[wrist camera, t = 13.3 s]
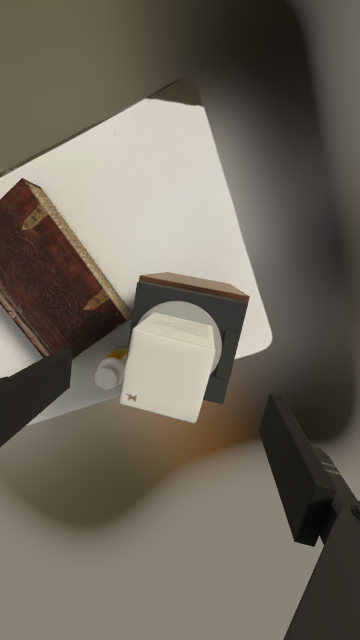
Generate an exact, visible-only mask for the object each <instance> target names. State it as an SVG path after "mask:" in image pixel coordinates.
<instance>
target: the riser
mask: <svg viewBox="0 0 360 640" xmlns="http://www.w3.org/2000/svg"><path fill="white" fill-rule="evenodd" d="M141 281H147V282H152V283H158V284H163V285H168V286H173V287H178V288H183V289H189V290H194V291H199V292H204V293H209V294H215V295H220V296H225V297H230V298H235V299H241V300H244V301H245V302H247V303H248V301H249V297H250V296H248V295H246V294H245V293H243V292H242V291H240V290H238V289H237V288H235V287H234V286H232V285H231V284H227V283H221V282H216V281H211V280H206V279H200V278H195V277H190V276H184V275H179V274H174V273H169V272H166V273H158V274H149V275H140V278H139V282H141Z"/></svg>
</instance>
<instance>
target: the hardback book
mask: <svg viewBox="0 0 360 640" xmlns="http://www.w3.org/2000/svg"><path fill="white" fill-rule="evenodd" d="M0 304H1V305H2V307H3V308H4V309H5V310H6V312H7V313H8V314H9V315H10V317H11V318H12V319H13V320H14V322H15V323H16V324H17V325H18V327H19V328H20V329H21V330H22V332H23V333H24V334H25V335H26V337H27V338H28V339H29V340H30V342H31V343H32V344H33V346H34V347H35V348H36V349H37V351H38V352H39V353H40V354H41V356H42V357H43V358H45V357H47V356H48V355H50V354H52V353H54V352H56V351H58V350H59V349H61V348H64V349H68V350H73V354H72V359H73V358H75V357H76V356H77V355H79V354H80V353H82V352H83V351H85V350H86V349H87V348H89V347H90V346H92V345H93V344H95V343H96V342H97V341H99V340H100V339H102V338H103V337H105V336H106V335H107V334H109V333H110V332H112V331H113V330H115V329H116V328H117V327H119V326H120V325H122V324H123V323H125V322H126V321H127V320H129V319H130V318H132V317H133V314H132V313H131V311H130V310H129V309H128V307H127V306H126V305H125V303H124V302H123V300H122V299H121V298H120V296H119V295H118V294H117V292H116V291H115V289H114V288H113V287H112V285H111V284H110V282H109V281H108V280H107V278H106V277H105V276H104V274H103V273H102V271H101V270H100V269H99V267H98V266H97V265H96V263H95V262H94V260H93V259H92V258H91V256H90V255H89V253H88V252H87V251H86V249H85V248H84V247H83V245H82V244H81V242H80V241H79V240H78V238H77V237H76V235H75V234H74V233H73V231H72V230H71V229H70V227H69V226H68V224H67V223H66V222H65V220H64V219H63V218H62V216H61V215H60V213H59V212H58V211H57V209H56V208H55V206H54V205H53V204H52V202H51V201H50V200H49V198H48V197H47V195H46V194H45V193H44V191H43V190H42V189H41V187H39V186H37V185H35V184H33V183H31V182H29V181H27V180H25V179H23V178H22V179H21V180H20V181H19V182H18V183H17V184H16V185H15V186H14V187H13V188H11V189H10V190H9V191H8V192H7V193H6V194H5V195H4V196H3V197H2V198H1V199H0Z"/></svg>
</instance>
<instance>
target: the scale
mask: <svg viewBox="0 0 360 640" xmlns="http://www.w3.org/2000/svg"><path fill="white" fill-rule="evenodd" d="M247 306H248V303H247V302H245V301H244V300H241V299H235V298H230V297H225V296H220V295H215V294H209V293H204V292H199V291H194V290H189V289H183V288H178V287H173V286H168V285H163V284H158V283H152V282H147V281H141V282H137V288H136V295H135V302H134V309H133V317H132V324H131V331H130V338H129V345H128V351H129V346H130V340H131V335H132V330H133V328H135V327H136V326H137V325H138V324H139V323H141V322H142V321H143V320H145V319H146V318H147V317H148V316H150V315H151V314H152V313H153V312H155V313H159V314H164V315H168V316H172V317H176V318H180V319H185V320H189V321H193V322H197V323H202V324H206V325H210V326H212V327H213V336H214V345H215V356H214V361H213V364H212V368H211V372H210V376H209V379H208V383H207V386H206V390H205V394H204V397H203V400H207V401H211V402H216V403H221V404H223V402H224V398H225V394H226V390H227V386H228V382H229V378H230V374H231V370H232V366H233V362H234V358H235V354H236V350H237V346H238V342H239V338H240V334H241V330H242V326H243V322H244V318H245V314H246V310H247ZM127 357H128V352H127ZM126 361H127V359H126Z"/></svg>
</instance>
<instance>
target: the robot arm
mask: <svg viewBox="0 0 360 640" xmlns="http://www.w3.org/2000/svg"><path fill="white" fill-rule="evenodd" d="M72 354H73V350H68V349H64V348H61V349H59V350H58V351H56V352H54V353H52V354H50V355H48V356H47V357H45V358H43V359H41V360H39V361H37V362H36V363H34V364H32V365H30V366H28V367H26V368H25V369H23V370H21V371H19V372H17V373H15V374H14V375H12V376H10V377H3V378H0V447H1V446H2V445H3V444H5V443H6V442H7V441H8V440H9V439H10V438H11V437H13V436H14V435H15V434H16V433H17V432H19V431H20V430H21V429H22V428H23V427H24V426H26V425H27V424H28V423H29V422H30V421H31V420H32V419H34V418H35V417H36V416H37V415H38V414H39V413H41V412H42V411H43V410H44V409H45V408H46V407H48V406H49V405H50V404H51V403H52V402H53V401H54V400H56V399H57V398H58V397H59V396H60V395H61V394H63V393H64V392H65V391H66V390H67V389H68V388H70V377H71V365H72ZM259 433H260V436H261V439H262V442H263V445H264V448H265V451H266V455H267V458H268V461H269V464H270V467H271V470H272V473H273V476H274V479H275V483H276V486H277V488H278V492H279V495H280V498H281V501H282V504H283V507H284V510H285V514H286V517H287V520H288V523H289V526H290V529H291V532H292V535H293V538H294V541H295V542H298V543H301V544H305V545H309V546H313V547H314V546H315V544H316V542H317V539H318V537H319V535H320V537H321V540H322V542H323V544H324V547H323V550H322V552H321V555H320V557H319V559H318V561H317V563H316V566H315V568H314V570H313V573H312V575H311V577H310V580H309V582H308V584H307V587H306V589H305V591H304V593H303V596H302V598H301V600H300V603H299V605H298V607H297V610H296V612H295V614H294V617H293V619H292V621H291V624H290V626H289V628H288V630H287V633H286V635H285V637H284V640H360V501H358V500H357V499H356V498H355V496H354V494H353V493H352V492H351V490H350V488H349V487H348V485H347V484H346V482H345V481H344V479H343V478H342V476H341V475H340V473H339V471H338V470H337V468H336V467H335V465H334V464H333V462H332V461H331V459H330V458H329V456H327V454H326V453H325V452H324V451H323V450H321V449H320V448H319V447H315V446H311V444H310V442H309V441H308V439H307V437H306V436H305V434H304V432H303V431H302V429H301V427H300V426H299V424H298V422H297V421H296V419H295V417H294V415H293V414H292V412H291V410H290V409H289V407H288V405H287V404H286V402H285V400H284V399H283V397H282V396H280V395H275V394H269V398H268V401H267V405H266V408H265V411H264V415H263V418H262V422H261V425H260V428H259Z"/></svg>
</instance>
